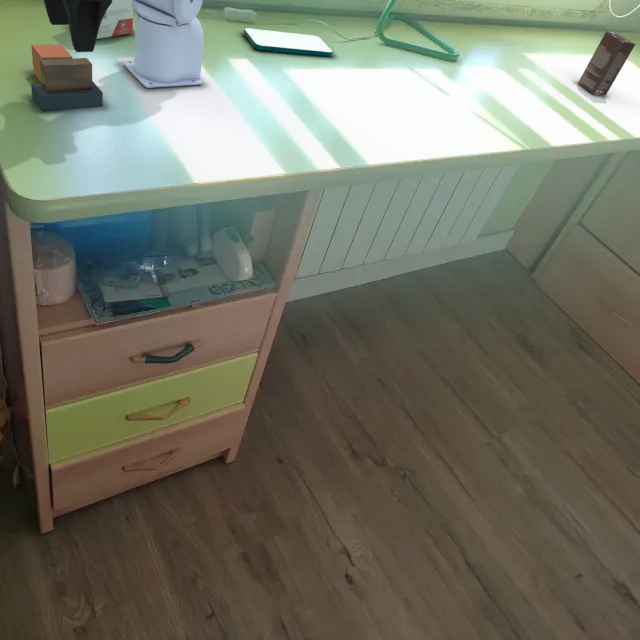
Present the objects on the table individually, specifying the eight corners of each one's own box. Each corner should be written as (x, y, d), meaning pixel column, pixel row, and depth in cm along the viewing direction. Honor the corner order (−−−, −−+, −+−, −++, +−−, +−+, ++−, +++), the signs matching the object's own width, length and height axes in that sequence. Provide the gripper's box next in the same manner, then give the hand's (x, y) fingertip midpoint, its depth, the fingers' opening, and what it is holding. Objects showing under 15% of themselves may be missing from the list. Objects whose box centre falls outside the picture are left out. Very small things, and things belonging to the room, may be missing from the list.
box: (606, 96, 140) (637, 43, 132) (592, 94, 138) (622, 41, 130) (590, 84, 144) (619, 32, 136) (576, 82, 142) (604, 30, 134)
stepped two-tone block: (92, 93, 84) (91, 54, 80) (102, 106, 82) (102, 66, 79) (32, 97, 80) (28, 56, 76) (42, 111, 78) (38, 69, 74)
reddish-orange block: (62, 72, 87) (61, 44, 84) (73, 85, 85) (72, 56, 82) (33, 73, 84) (31, 44, 82) (43, 86, 82) (41, 57, 80)
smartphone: (317, 40, 121) (241, 32, 114) (318, 35, 120) (242, 27, 113) (333, 57, 116) (255, 50, 109) (334, 53, 116) (256, 45, 108)
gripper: (3, -119, 66) (16, 12, 75) (53, -73, 59) (60, 64, 68) (69, -111, 70) (73, 12, 79) (123, -67, 63) (120, 62, 72)
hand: (71, 37), depth 74 cm, fingers open, 7 cm apart
